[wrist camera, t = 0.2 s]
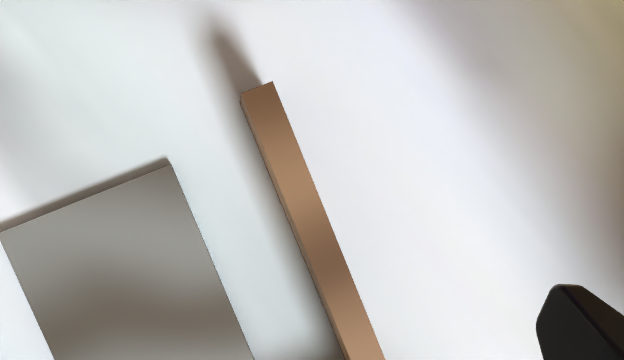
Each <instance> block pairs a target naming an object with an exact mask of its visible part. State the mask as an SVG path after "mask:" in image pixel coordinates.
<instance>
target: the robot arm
mask: <svg viewBox="0 0 624 360" xmlns="http://www.w3.org/2000/svg"><path fill="white" fill-rule="evenodd" d="M536 333H537V337H538V341H539V345H540V348H541V352H542V356H543V359H544V360H624V316H623V315H622V314H621V313H619V312H618V311H616V310H615V309H614V308H612V307H611V306H609V305H608V304H607V303H605V302H604V301H602V300H601V299H600V298H598V297H597V296H595V295H594V294H593V293H591V292H590V291H588V290H587V289H586V288H584V287H582V286H580V285H572V284H557V285H555V286H553V287H552V288H551V290H550V292H549V294H548V296H547V298H546V300H545V302H544V305H543V307H542V309H541V311H540V313H539V316H538V318H537V322H536Z"/></svg>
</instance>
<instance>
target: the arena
mask: <svg viewBox="0 0 624 360" xmlns="http://www.w3.org/2000/svg"><path fill="white" fill-rule="evenodd" d="M240 104H241V106H242V109H243V111H244V114H245V116H246V119H247V121H248V124H249V126H250V128H251V131H252V133H253V136H254V138H255V141H256V143H257V145H258V148H259V150H260V153H261V155H262V158H263V160H264V162H265V165H266V167H267V170H268V172H269V175H270V177H271V179H272V182H273V184H274V187H275V189H276V192H277V194H278V197H279V199H280V201H281V204H282V206H283V209H284V211H285V214H286V216H287V218H288V221H289V223H290V226H291V228H292V231H293V233H294V235H295V238H296V240H297V243H298V245H299V248H300V250H301V252H302V255H303V257H304V260H305V262H306V265H307V267H308V270H309V272H310V274H311V277H312V279H313V282H314V284H315V287H316V289H317V291H318V294H319V296H320V299H321V301H322V304H323V306H324V308H325V311H326V313H327V316H328V318H329V321H330V323H331V325H332V328H333V330H334V333H335V335H336V338H337V340H338V343H339V345H340V347H341V350H342V352H343V355H344V357H345V360H385V358H384V355H383V353H382V350H381V348H380V346H379V343H378V341H377V338H376V336H375V333H374V331H373V328H372V326H371V323H370V321H369V318H368V316H367V313H366V311H365V308H364V306H363V304H362V301H361V299H360V296H359V294H358V291H357V289H356V286H355V284H354V281H353V279H352V276H351V274H350V271H349V269H348V266H347V264H346V262H345V259H344V257H343V254H342V252H341V249H340V247H339V244H338V242H337V239H336V237H335V234H334V232H333V229H332V227H331V224H330V222H329V220H328V217H327V215H326V212H325V210H324V207H323V205H322V202H321V200H320V197H319V195H318V192H317V190H316V187H315V185H314V182H313V180H312V178H311V175H310V173H309V170H308V168H307V165H306V163H305V160H304V158H303V155H302V153H301V150H300V148H299V145H298V143H297V140H296V138H295V136H294V133H293V131H292V128H291V126H290V123H289V121H288V118H287V116H286V113H285V111H284V108H283V106H282V103H281V101H280V98H279V96H278V93H277V91H276V89H275V86H274V84H273V81H272V82H269V83H267V84H264V85H262V86H259V87H257V88H254V89H251V90H249V91H246V92H244V93H241V99H240ZM0 241H1V243H2V245H3V248H4V250H5V252H6V254H7V256H8V258H9V261H10V263H11V265H12V267H13V269H14V272H15V274H16V276H17V278H18V280H19V283H20V285H21V287H22V289H23V291H24V294H25V296H26V298H27V300H28V302H29V304H30V307H31V309H32V311H33V313H34V315H35V318H36V320H37V322H38V324H39V326H40V329H41V331H42V333H43V335H44V337H45V340H46V342H47V344H48V346H49V348H50V350H51V353H52V355H53V357H54V359H55V360H254V358H253V355H252V353H251V351H250V348H249V346H248V344H247V341H246V339H245V337H244V334H243V332H242V330H241V327H240V325H239V323H238V320H237V318H236V316H235V313H234V311H233V308H232V306H231V304H230V301H229V299H228V297H227V294H226V292H225V290H224V287H223V285H222V283H221V280H220V278H219V276H218V273H217V271H216V268H215V266H214V264H213V261H212V259H211V257H210V254H209V252H208V250H207V247H206V245H205V243H204V240H203V238H202V236H201V233H200V231H199V229H198V226H197V224H196V221H195V219H194V217H193V214H192V212H191V210H190V207H189V205H188V203H187V200H186V198H185V196H184V193H183V191H182V189H181V186H180V184H179V181H178V179H177V177H176V174H175V172H174V170H173V167H172V165H171V164H170V165H167V166H165V167H162V168H160V169H157V170H155V171H152V172H150V173H147V174H145V175H142V176H140V177H137V178H135V179H132V180H130V181H127V182H125V183H122V184H120V185H117V186H115V187H112V188H110V189H107V190H105V191H102V192H100V193H97V194H95V195H92V196H90V197H87V198H85V199H82V200H80V201H77V202H75V203H72V204H70V205H67V206H65V207H62V208H60V209H57V210H55V211H52V212H50V213H47V214H45V215H42V216H40V217H37V218H35V219H32V220H30V221H27V222H25V223H22V224H20V225H17V226H15V227H12V228H10V229H7V230H5V231H2V232H0Z"/></svg>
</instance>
